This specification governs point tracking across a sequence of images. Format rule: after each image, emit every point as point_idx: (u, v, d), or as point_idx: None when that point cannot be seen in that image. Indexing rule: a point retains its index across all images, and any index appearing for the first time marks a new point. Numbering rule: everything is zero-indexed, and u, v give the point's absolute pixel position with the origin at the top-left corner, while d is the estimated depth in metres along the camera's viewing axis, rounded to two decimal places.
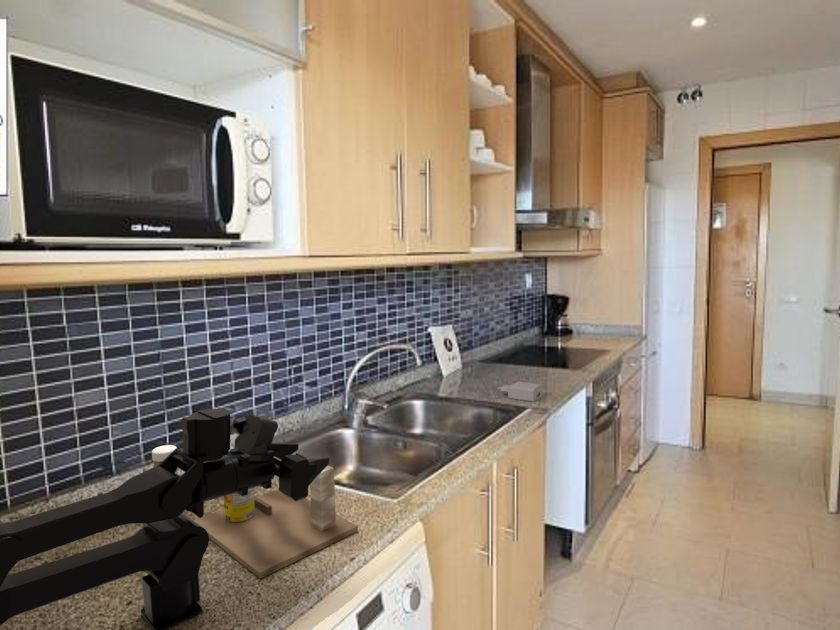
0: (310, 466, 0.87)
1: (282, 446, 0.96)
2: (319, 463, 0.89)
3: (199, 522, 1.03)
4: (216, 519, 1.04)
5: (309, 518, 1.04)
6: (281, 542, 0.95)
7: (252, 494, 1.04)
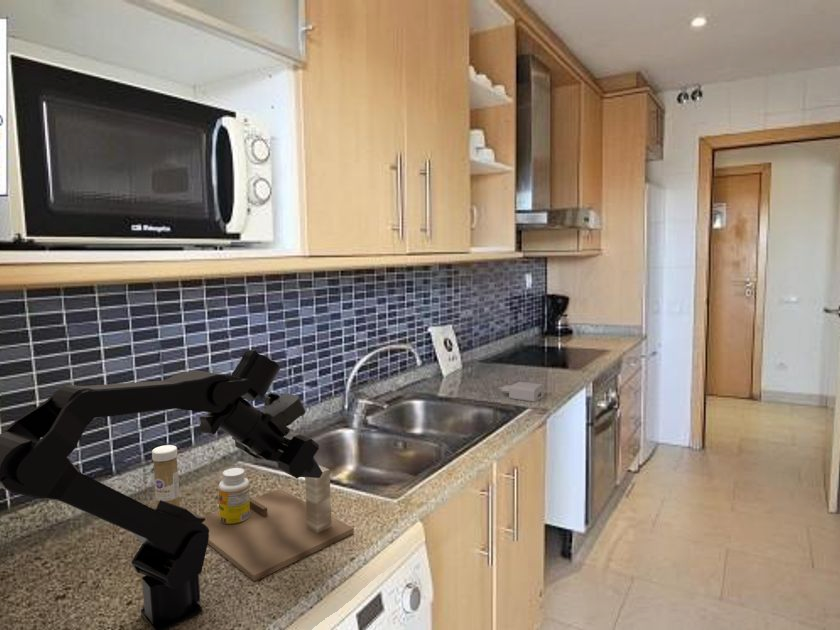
0: (309, 462, 0.91)
1: None
2: (315, 467, 0.92)
3: None
4: (211, 521, 1.03)
5: (305, 520, 1.03)
6: (276, 544, 0.94)
7: (248, 495, 1.04)
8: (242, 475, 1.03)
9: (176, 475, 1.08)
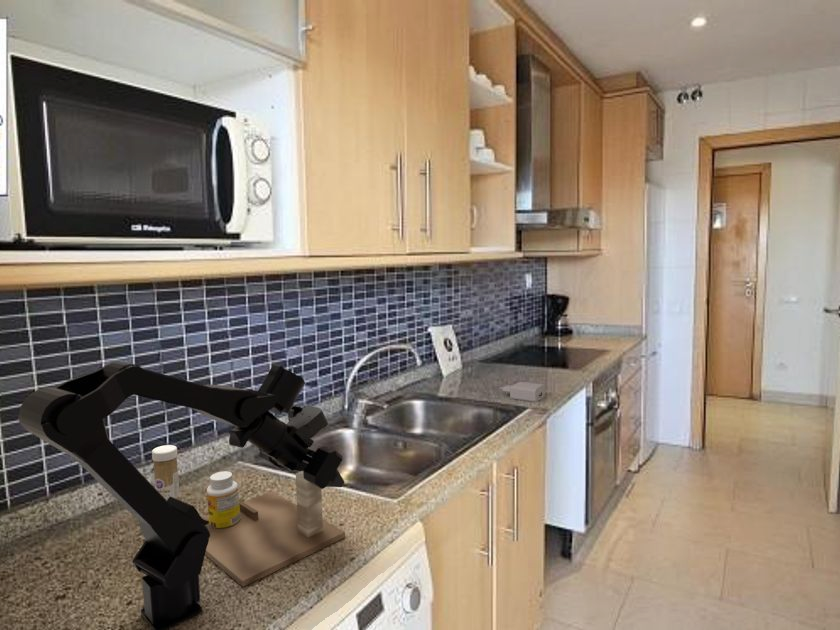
0: None
1: None
2: (338, 477, 0.96)
3: None
4: None
5: (296, 524, 1.01)
6: (266, 549, 0.93)
7: (237, 498, 1.02)
8: (230, 479, 1.01)
9: (176, 475, 1.08)
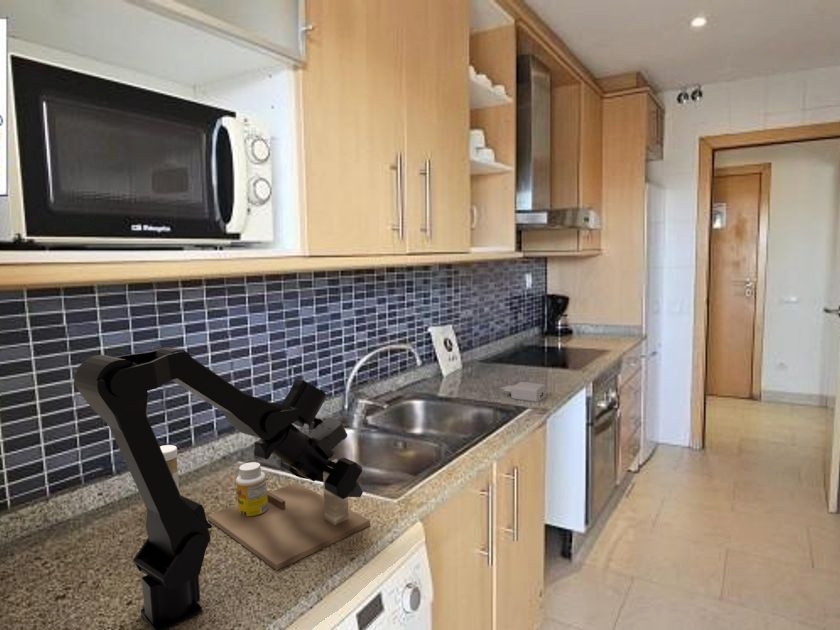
0: None
1: None
2: (357, 487, 0.99)
3: (214, 516, 1.05)
4: (231, 513, 1.06)
5: (322, 512, 1.06)
6: (296, 535, 0.97)
7: (265, 487, 1.06)
8: (259, 468, 1.06)
9: (176, 475, 1.08)
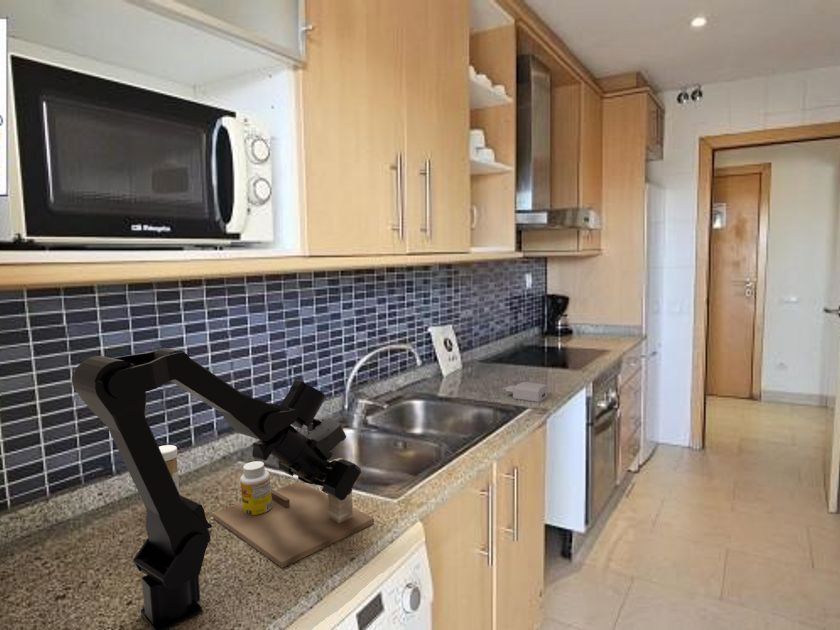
0: None
1: None
2: None
3: (219, 514, 1.05)
4: (235, 512, 1.07)
5: (326, 511, 1.06)
6: (300, 533, 0.98)
7: (269, 486, 1.07)
8: (263, 467, 1.06)
9: (176, 475, 1.08)
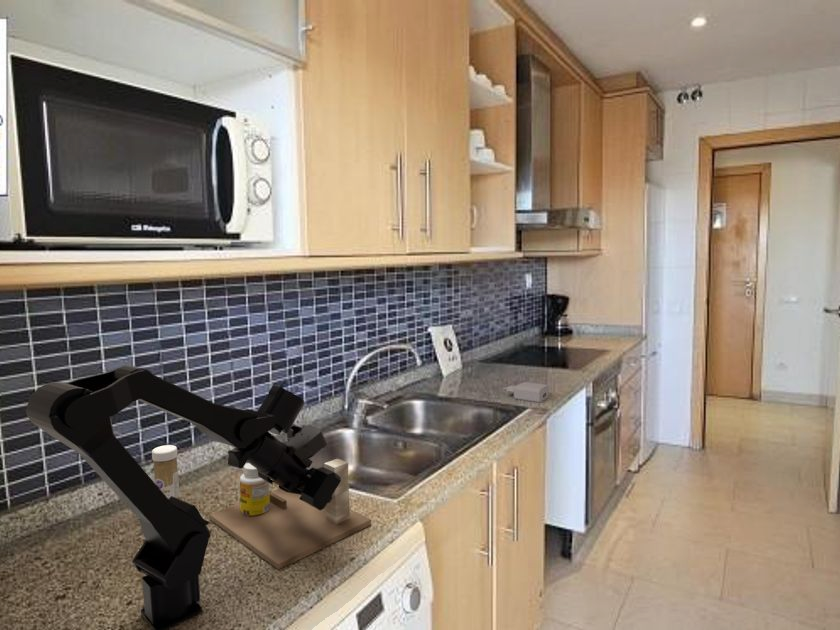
0: None
1: None
2: None
3: (216, 516, 1.05)
4: (232, 513, 1.06)
5: (323, 512, 1.06)
6: (297, 535, 0.97)
7: (268, 487, 1.07)
8: None
9: (176, 475, 1.08)
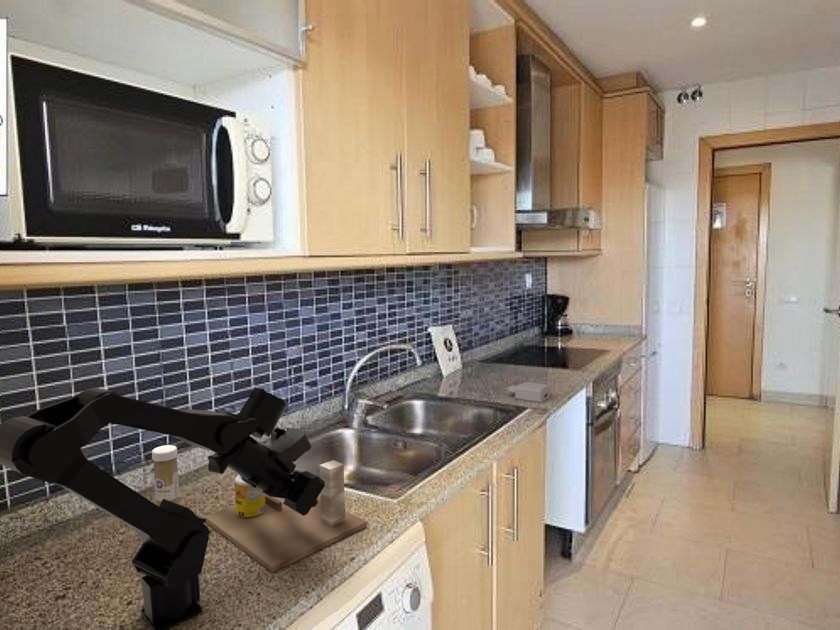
0: None
1: None
2: None
3: (210, 518, 1.04)
4: (227, 515, 1.05)
5: (319, 514, 1.05)
6: (292, 537, 0.97)
7: None
8: None
9: (176, 475, 1.08)
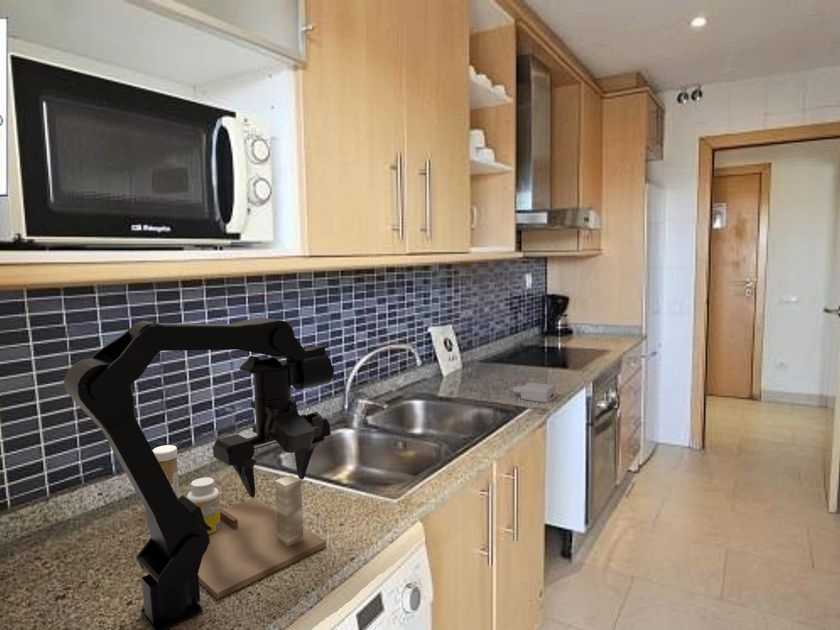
0: None
1: (303, 461, 0.92)
2: (246, 483, 0.85)
3: None
4: None
5: (276, 532, 0.98)
6: (243, 559, 0.90)
7: (219, 504, 1.00)
8: (213, 484, 0.99)
9: (176, 475, 1.08)
